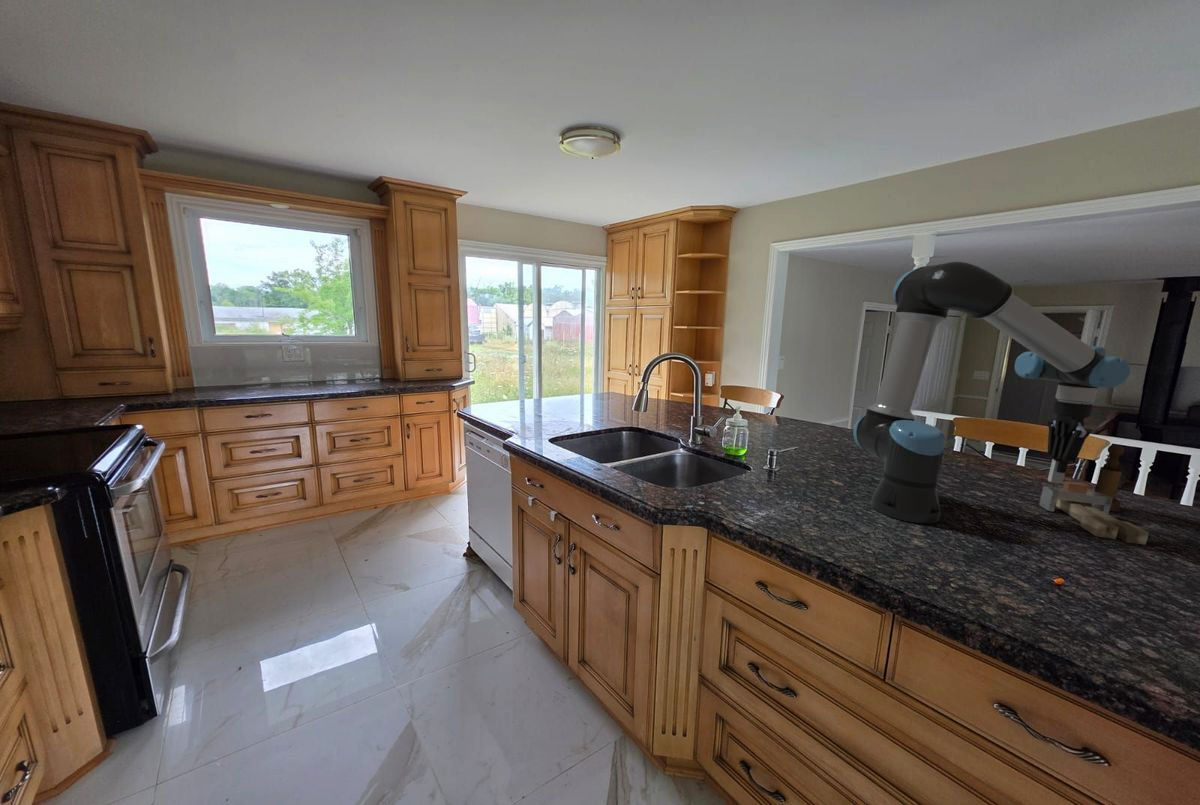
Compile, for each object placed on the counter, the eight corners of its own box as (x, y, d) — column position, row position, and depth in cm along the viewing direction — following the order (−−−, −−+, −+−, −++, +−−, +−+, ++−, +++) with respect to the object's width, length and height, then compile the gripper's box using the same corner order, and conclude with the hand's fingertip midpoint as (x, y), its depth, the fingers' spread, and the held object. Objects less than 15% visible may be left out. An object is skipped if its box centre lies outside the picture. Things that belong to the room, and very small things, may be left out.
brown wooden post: (1126, 512, 121) (1143, 449, 118) (1098, 509, 123) (1114, 447, 119) (1104, 503, 128) (1120, 442, 124) (1077, 500, 129) (1092, 441, 126)
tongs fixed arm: (1116, 540, 104) (1120, 528, 104) (1052, 503, 126) (1054, 492, 126) (1145, 544, 103) (1149, 531, 102) (1075, 505, 125) (1077, 495, 124)
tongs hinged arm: (1095, 536, 106) (1100, 519, 105) (1040, 499, 128) (1044, 485, 127) (1129, 541, 104) (1134, 524, 103) (1067, 503, 126) (1071, 488, 125)
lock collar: (1048, 510, 120) (1054, 483, 119) (1039, 505, 124) (1045, 479, 122) (1107, 518, 116) (1114, 490, 115) (1096, 512, 120) (1102, 485, 119)
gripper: (1109, 406, 116) (1088, 492, 120) (1074, 398, 128) (1056, 476, 132) (1073, 404, 118) (1053, 488, 122) (1042, 396, 130) (1025, 473, 135)
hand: (1055, 482), depth 127 cm, fingers closed
